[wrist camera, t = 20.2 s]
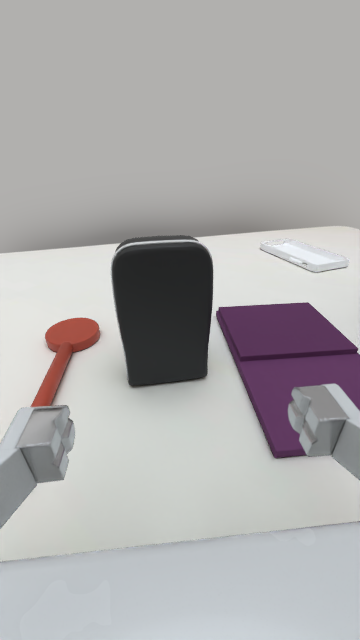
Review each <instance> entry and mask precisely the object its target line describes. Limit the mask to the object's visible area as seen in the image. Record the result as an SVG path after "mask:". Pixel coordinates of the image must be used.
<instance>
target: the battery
mask: <svg viewBox="0 0 360 640" xmlns="http://www.w3.org/2000/svg"><path fill="white" fill-rule="evenodd" d="M111 280H112V289H113V297H114V305H115V311H116V317H117V322H118V327H119V332H120V336H121V341H122V345H123V350H124V356H125V363H126V372H127V380H128V382H129V384H130V385H146V384H156V383H165V382H173V381H181V380H188V379H194V378H200V377H205V376H207V360H208V342H209V334H210V324H211V314H212V300H213V261H212V256H211V254H210V252H209V250H208V249H207V247H206V246H205V245H203V244H202V243H200V242H199V241H198V240H197V239H195V238H193V237H190V236H181V235H180V236H153V237H141V238H132V239H128V240H126V241H124V242H122V243H121V244H120V245H119V246H118V248H117V249H116V251H115V254H114V256H113V258H112V262H111Z"/></svg>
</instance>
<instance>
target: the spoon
mask: <svg viewBox="0 0 360 640" xmlns="http://www.w3.org/2000/svg"><path fill="white" fill-rule="evenodd" d="M99 336H100V331H99V326H98V324H97V323H96V322H95V321H94V320H92V319H88V318H73V319H68V320H64V321H61V322H59V323H57V324H55V325H53V326H52V327H50V328H49V329H48V330H47V332H46V334H45V339H46V342H47V345H48V347H49V348H50V349H51V350H53V351H55V352H57V354H56V356H55V358H54V360H53V362H52V364H51V366H50V368H49V370H48V372H47V374H46V376H45V378H44V380H43V382H42V384H41V387H40V389H39V391H38V393H37V395H36V397H35V399H34V401H33V403H32V405H31V407H39V406H50V405H51V403H52V400H53V398H54V395H55V393H56V390H57V388H58V385H59V383H60V381H61V378H62V376H63V373H64V371H65V368H66V366H67V363H68V361H69V359H70V356H71V354H72V352H77V351H81V350H83V349H86V348H88V347H90V346H92V345H93V344H94V343H95V342H96V341H97V340H98V339H99Z"/></svg>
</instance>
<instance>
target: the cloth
mask: <svg viewBox="0 0 360 640" xmlns="http://www.w3.org/2000/svg"><path fill="white" fill-rule="evenodd" d="M216 316H217V319H218V321H219V324H220V326H221V329H222V331H223V333H224V336H225V338H226V341H227V343H228V346H229V348H230V351H231V353H232V355H233V358H234V360H235V363H236V365H237V368H238V370H239V372H240V375H241V377H242V380H243V382H244V385H245V387H246V390H247V392H248V394H249V397H250V399H251V402H252V404H253V407H254V409H255V411H256V414H257V416H258V419H259V421H260V424H261V426H262V429H263V431H264V433H265V436H266V438H267V441H268V443H269V446H270V448H271V450H272V453H273V455H274V457H275V458H280V457H291V456H301V455H307V454H306V453H305V451H304V449H303V447H302V445H301V443H300V441H299V437H300V434H299V433H298V432H296V431H295V430H294V429H293V428H292V426H291V424H290V421H289V418H288V406H289V403H290V402H291V401H292V400H293V397H292V395H291V393H292V390H293V388H294V387H299V386H311V385H322V384H334V383H335V384H337V385H338V386H339V387H340V388H341V389H342V390H343V391H344V393H345V394H346V395H347V396H348V397H349V399H350V400H351V401H352V402H353V403H354V405H355V406H356V407H357V408H358V409H359V411H360V355H359V354H358V353H357V351H358V348H357V347H356V346H355V345H354V344H353V343H352V342H350V341H349V340H348V339H347V338H346V337H345V336H344V335H343V334H342V333H341V332H340V331H339V330H337V329H336V328H335V327H334V326H333V325H332V324H331V323H330V322H329V321H328V320H327V319H326V318H324V317H323V316H322V315H321V314H320V313H319V312H318V311H317V310H316V309H315V308H314V307H313V306H311V305H310V304H309V303H290V304H271V305H253V306H234V307H219V311H216Z"/></svg>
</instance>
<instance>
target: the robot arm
mask: <svg viewBox="0 0 360 640" xmlns="http://www.w3.org/2000/svg"><path fill="white" fill-rule="evenodd" d="M291 395H292V397H293V400H292V401H291V402H290V403H289V406H288V418H289V421H290V424H291V426H292V428H293V429H294V430H295V431H296V432H298V433H299V434H300V437H299V441H300V443H301V445H302V447H303V449H304V451H305V453H306V454H307V456H308V457H312V456H327V455H332V456H331V457H333V458H334V459H335V460H336V461H337V462H339V463H340V464H341V465H342V466H343V467H344V468H346V469H347V470H348V471H349V472H350V473H352V474H353V475H354V476H355V477H356V478H358V479H359V480H360V411H359V409H358V408H357V407H356V406H355V405H354V403H353V402H352V401H351V400H350V399H349V397H348V396H347V395H346V394H345V393H344V391H343V390H342V389H341V388H340V387H339V386H338V385H337V384H335V383H334V384H322V385H311V386H299V387H294V388H293V390H292V393H291ZM69 415H70V411H69V408H68V406H67V405H58V406H39V407H26V408H21V409H20V410H18V411H17V413H16V415H15V417H14V419H13V421H12V423H11V424H10V426H9V428H8V430H7V432H6V434H5V436H4V437H3V439H2V441H1V443H0V529H1V528H2V526H3V525H4V524H5V523H6V522H7V520H8V519H9V518H10V517H11V516H12V514H13V513H14V512H15V511H16V510H17V508H18V507H19V506H20V505H21V504H22V502H23V501H24V500H25V499H26V498H27V496H28V495H29V494H30V493H31V492H32V490H33V489H34V488H35V487H36V486H37V483H43V482H51V481H59V480H64V477H65V473H66V470H67V466H68V463H69V459H68V457H67V454H68V453H69V452H70V451H71V450H72V448H73V444H74V438H75V428H74V423H73V421H72V420H70V419H69ZM0 640H360V521H359V522H350V523H341V524H332V525H323V526H314V527H305V528H296V529H287V530H278V531H269V532H260V533H251V534H242V535H233V536H224V537H216V538H207V539H198V540H189V541H180V542H171V543H162V544H153V545H144V546H135V547H126V548H117V549H108V550H100V551H91V552H82V553H73V554H64V555H55V556H46V557H37V558H28V559H19V560H10V561H2V562H0Z"/></svg>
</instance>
